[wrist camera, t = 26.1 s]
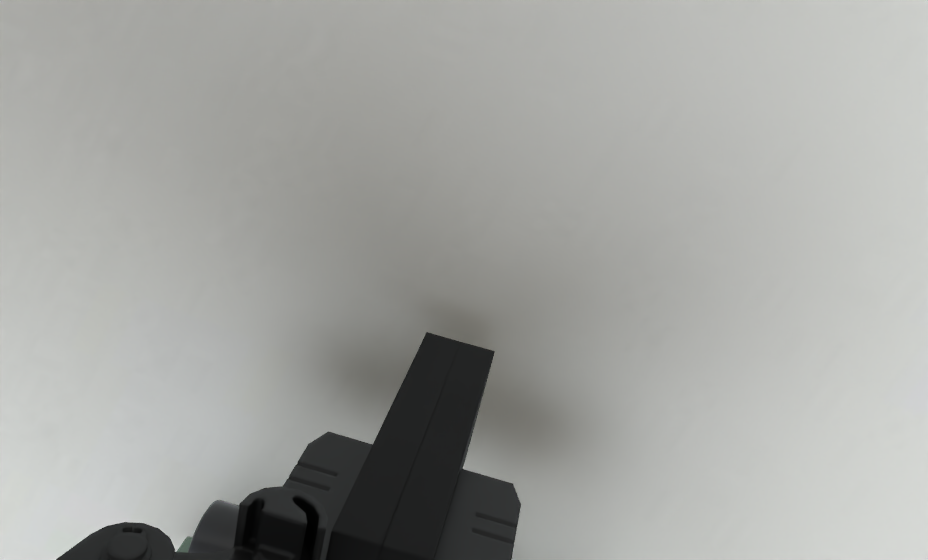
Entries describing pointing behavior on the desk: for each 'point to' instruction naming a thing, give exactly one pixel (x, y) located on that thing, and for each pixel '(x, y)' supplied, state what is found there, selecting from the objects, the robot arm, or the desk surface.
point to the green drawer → (214, 530)
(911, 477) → the desk surface
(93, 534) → the robot arm
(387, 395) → the desk surface
